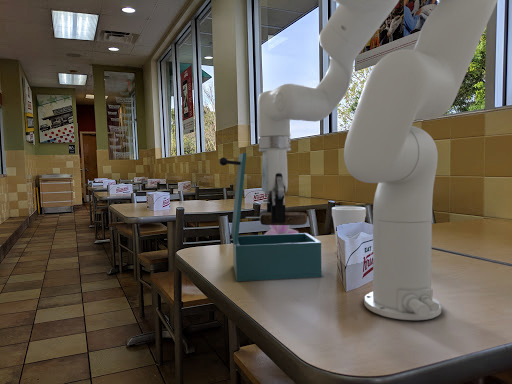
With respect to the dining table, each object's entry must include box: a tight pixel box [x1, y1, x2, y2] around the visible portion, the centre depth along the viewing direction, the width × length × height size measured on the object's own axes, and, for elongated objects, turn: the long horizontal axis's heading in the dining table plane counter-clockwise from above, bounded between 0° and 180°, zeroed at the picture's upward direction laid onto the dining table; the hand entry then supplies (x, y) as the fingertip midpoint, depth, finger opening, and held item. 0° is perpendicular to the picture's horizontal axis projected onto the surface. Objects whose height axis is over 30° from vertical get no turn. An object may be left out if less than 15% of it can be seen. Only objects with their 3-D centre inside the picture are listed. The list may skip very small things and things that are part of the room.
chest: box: [232, 232, 323, 282], centre depth 91 cm, size 19×13×8 cm, turn 97°
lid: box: [218, 152, 248, 244], centre depth 89 cm, size 20×13×6 cm
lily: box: [263, 225, 300, 235], centre depth 116 cm, size 12×12×10 cm
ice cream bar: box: [244, 211, 308, 226], centre depth 90 cm, size 5×15×3 cm, turn 79°
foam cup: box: [331, 205, 367, 245], centre depth 108 cm, size 10×9×13 cm
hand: (275, 219), depth 90 cm, fingers closed on ice cream bar, 6 cm apart
